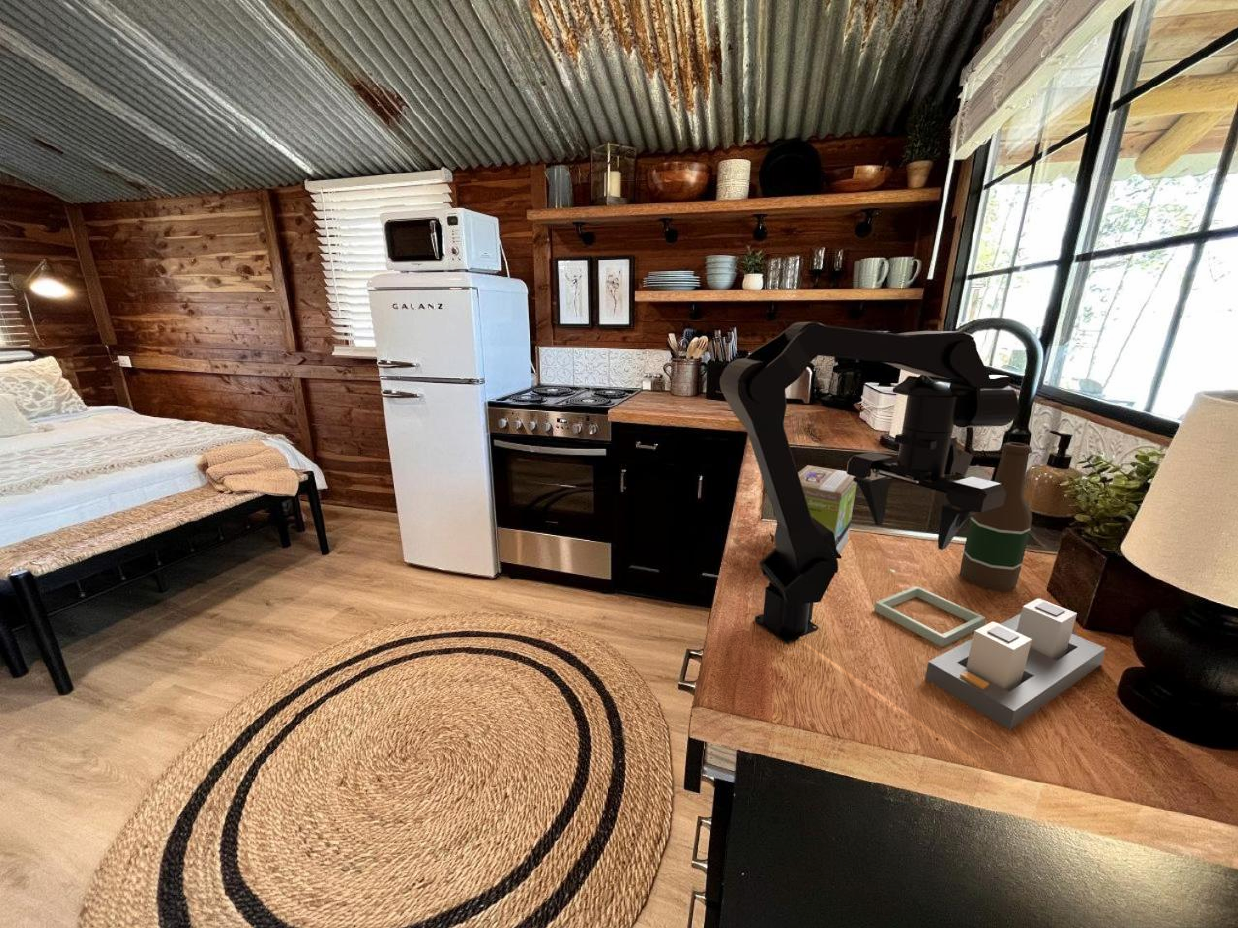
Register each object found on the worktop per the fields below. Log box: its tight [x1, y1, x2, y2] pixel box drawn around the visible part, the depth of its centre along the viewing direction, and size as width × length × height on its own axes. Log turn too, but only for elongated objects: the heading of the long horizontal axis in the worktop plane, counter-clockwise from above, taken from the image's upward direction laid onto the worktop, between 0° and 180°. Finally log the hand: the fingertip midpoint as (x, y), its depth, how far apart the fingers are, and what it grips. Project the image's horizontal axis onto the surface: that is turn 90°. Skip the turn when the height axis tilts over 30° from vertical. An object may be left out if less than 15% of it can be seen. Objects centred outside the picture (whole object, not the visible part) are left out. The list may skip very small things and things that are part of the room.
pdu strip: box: [924, 612, 1107, 731], centre depth 62 cm, size 25×9×3 cm, turn 118°
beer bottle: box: [959, 441, 1033, 592], centre depth 80 cm, size 8×8×24 cm
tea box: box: [797, 464, 858, 555], centre depth 94 cm, size 15×10×15 cm
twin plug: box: [1017, 597, 1078, 660], centre depth 63 cm, size 4×4×7 cm
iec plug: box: [966, 620, 1032, 691], centre depth 58 cm, size 4×4×7 cm
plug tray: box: [873, 585, 987, 648], centre depth 73 cm, size 10×10×2 cm
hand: (908, 536), depth 70 cm, fingers open, 9 cm apart
